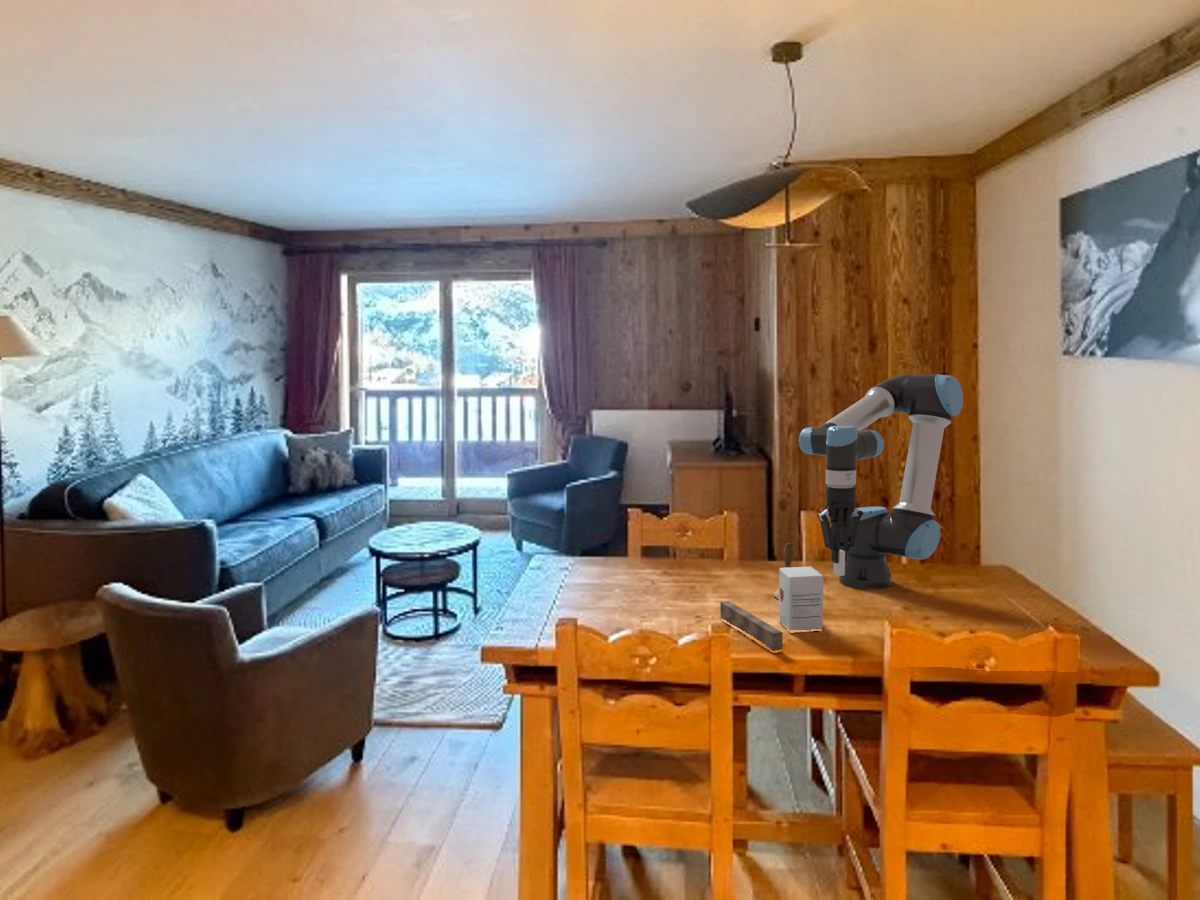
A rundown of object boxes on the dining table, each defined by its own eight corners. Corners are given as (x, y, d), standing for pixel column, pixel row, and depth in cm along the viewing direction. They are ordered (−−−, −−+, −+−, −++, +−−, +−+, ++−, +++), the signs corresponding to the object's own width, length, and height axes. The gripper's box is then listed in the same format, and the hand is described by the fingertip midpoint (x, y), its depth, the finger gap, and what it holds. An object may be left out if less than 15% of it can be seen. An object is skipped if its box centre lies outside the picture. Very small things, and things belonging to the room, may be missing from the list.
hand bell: (804, 594, 234) (804, 541, 232) (798, 602, 227) (799, 547, 225) (776, 591, 238) (776, 538, 236) (769, 599, 231) (769, 545, 228)
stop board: (720, 620, 214) (720, 602, 213) (728, 618, 215) (728, 600, 214) (773, 654, 190) (773, 633, 189) (782, 652, 191) (782, 632, 190)
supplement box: (778, 622, 211) (778, 567, 210) (811, 620, 212) (811, 565, 210) (789, 634, 202) (789, 576, 201) (823, 632, 203) (824, 575, 201)
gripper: (828, 489, 201) (826, 580, 204) (871, 486, 205) (868, 575, 208) (810, 485, 208) (809, 573, 211) (852, 481, 212) (850, 568, 215)
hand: (838, 574), depth 209 cm, fingers closed
